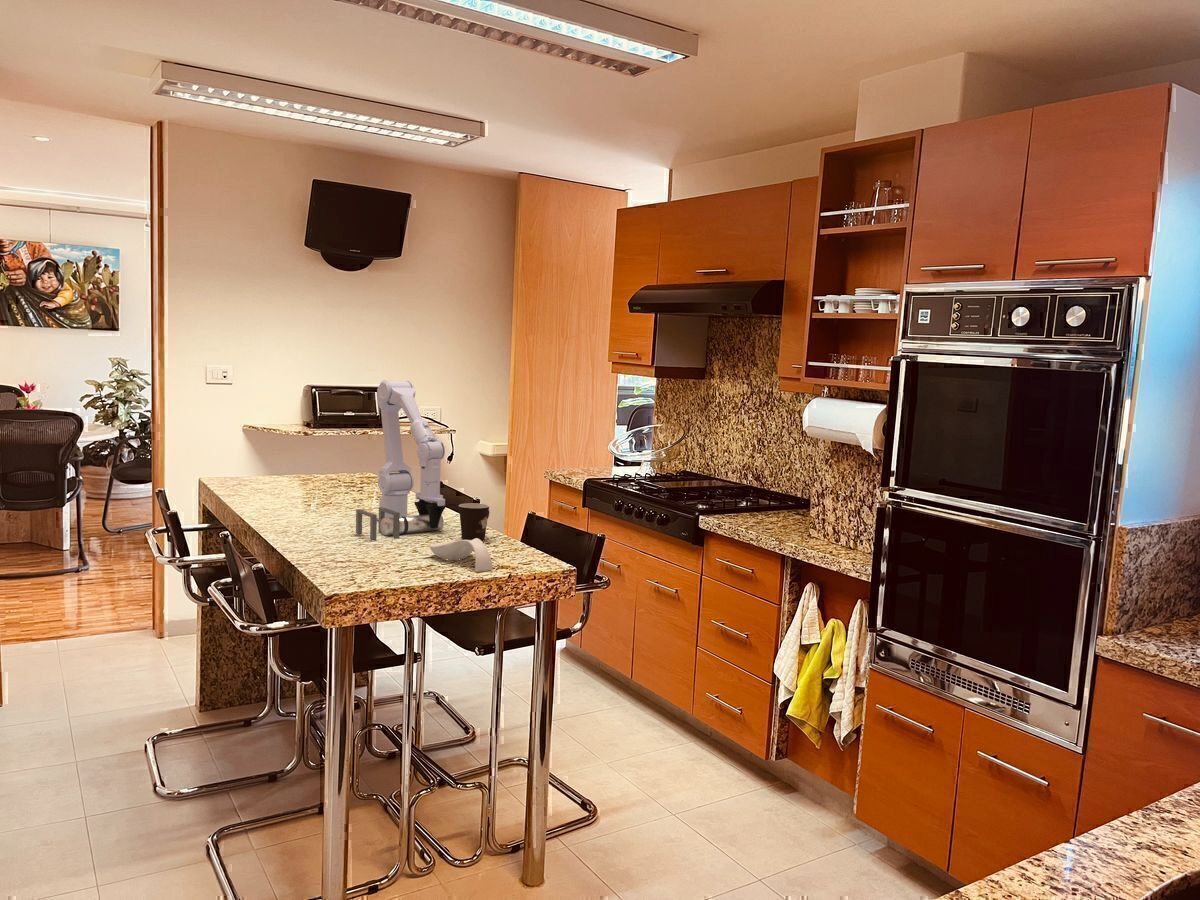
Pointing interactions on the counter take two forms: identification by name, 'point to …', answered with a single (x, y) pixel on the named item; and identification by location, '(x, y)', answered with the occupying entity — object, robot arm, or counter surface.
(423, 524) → the tube
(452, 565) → the counter surface
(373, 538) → the collar
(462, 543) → the spoon rest
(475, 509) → the coffee mug
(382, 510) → the collar
